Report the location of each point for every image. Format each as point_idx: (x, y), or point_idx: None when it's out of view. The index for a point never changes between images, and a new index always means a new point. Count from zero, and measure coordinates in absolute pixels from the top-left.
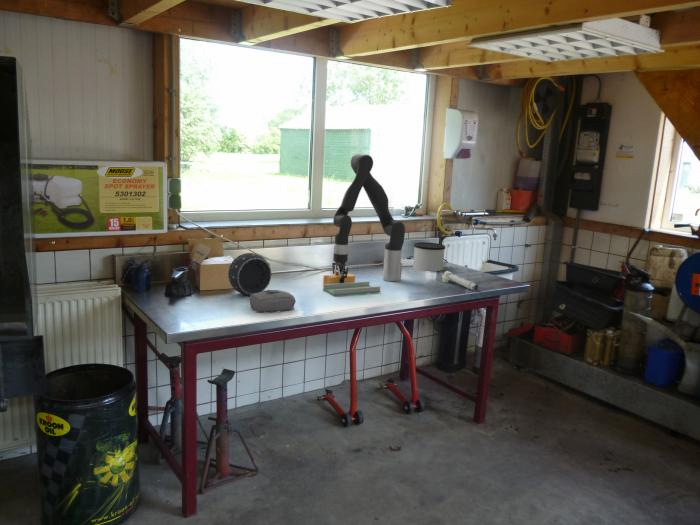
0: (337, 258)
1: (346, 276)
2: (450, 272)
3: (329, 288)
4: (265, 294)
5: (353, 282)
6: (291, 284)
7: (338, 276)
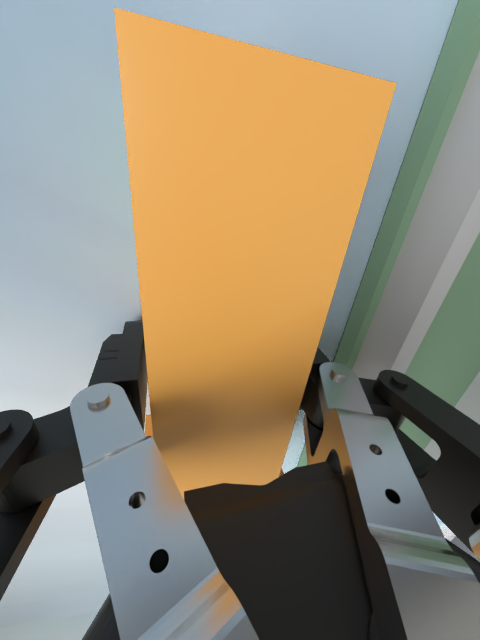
0: None
1: (423, 395)
2: None
3: None
4: None
5: (443, 275)
6: (104, 581)
7: (266, 440)
